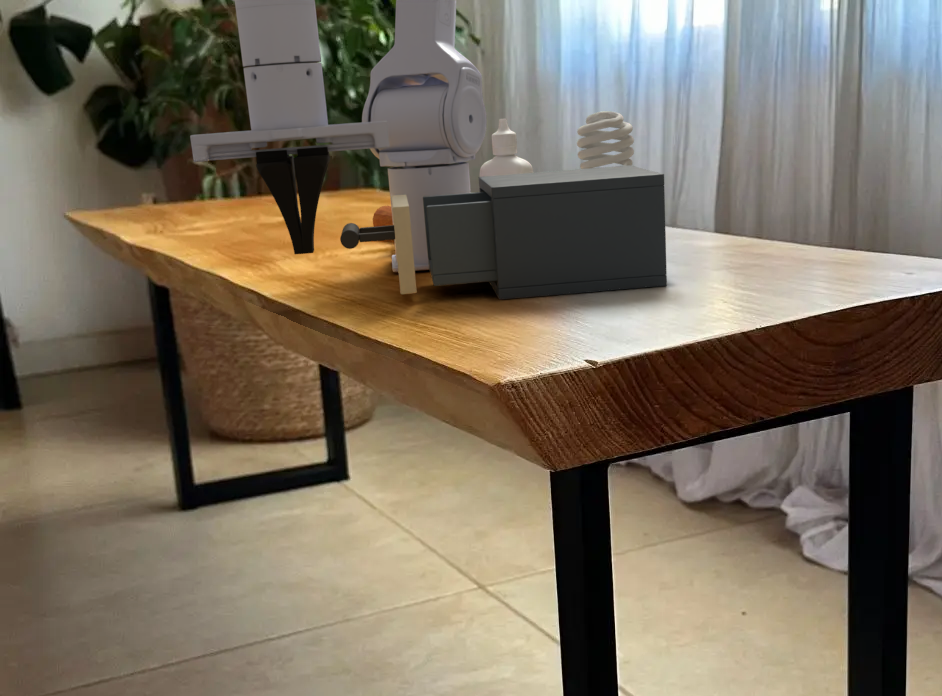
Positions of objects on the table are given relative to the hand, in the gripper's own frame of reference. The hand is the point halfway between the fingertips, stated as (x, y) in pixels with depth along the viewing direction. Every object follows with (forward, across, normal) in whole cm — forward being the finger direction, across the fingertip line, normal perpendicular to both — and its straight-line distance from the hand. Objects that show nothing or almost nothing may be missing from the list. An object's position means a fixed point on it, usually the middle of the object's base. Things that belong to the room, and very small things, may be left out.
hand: (304, 252), depth 94 cm
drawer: (+3, +11, 0) cm, 11 cm away
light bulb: (+4, +28, +28) cm, 40 cm away
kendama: (+4, +8, +35) cm, 36 cm away
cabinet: (+4, +21, 0) cm, 21 cm away
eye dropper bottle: (+4, +18, +28) cm, 34 cm away
